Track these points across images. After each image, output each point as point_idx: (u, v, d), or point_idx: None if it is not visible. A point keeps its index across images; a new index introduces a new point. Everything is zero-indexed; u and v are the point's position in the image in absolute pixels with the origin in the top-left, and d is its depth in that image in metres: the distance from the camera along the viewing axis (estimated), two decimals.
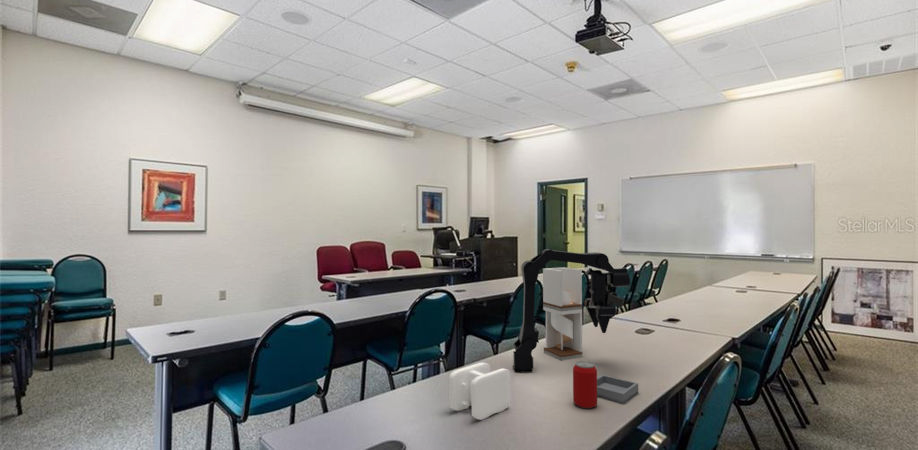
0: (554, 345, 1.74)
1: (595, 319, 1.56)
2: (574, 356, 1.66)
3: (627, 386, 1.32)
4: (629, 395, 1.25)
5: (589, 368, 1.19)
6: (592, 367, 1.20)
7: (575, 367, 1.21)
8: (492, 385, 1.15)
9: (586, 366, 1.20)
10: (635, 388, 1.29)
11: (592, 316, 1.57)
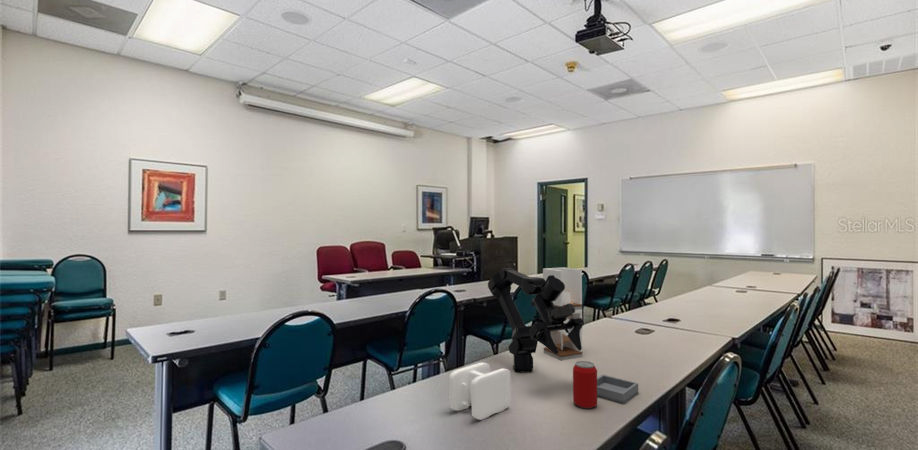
0: None
1: (576, 342, 1.33)
2: (574, 356, 1.66)
3: (627, 386, 1.32)
4: (629, 395, 1.25)
5: (589, 368, 1.19)
6: (592, 367, 1.20)
7: (575, 367, 1.21)
8: (492, 385, 1.15)
9: (586, 366, 1.20)
10: (635, 388, 1.29)
11: (573, 340, 1.34)
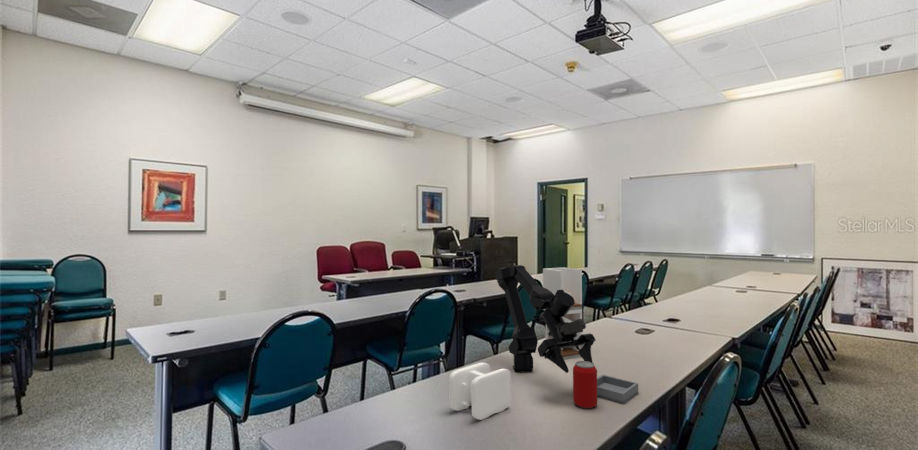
0: None
1: (587, 359, 1.28)
2: (574, 356, 1.66)
3: (627, 386, 1.32)
4: (629, 395, 1.25)
5: (589, 368, 1.19)
6: (592, 367, 1.20)
7: (575, 367, 1.21)
8: (492, 385, 1.15)
9: (586, 366, 1.20)
10: (635, 388, 1.29)
11: (584, 358, 1.29)
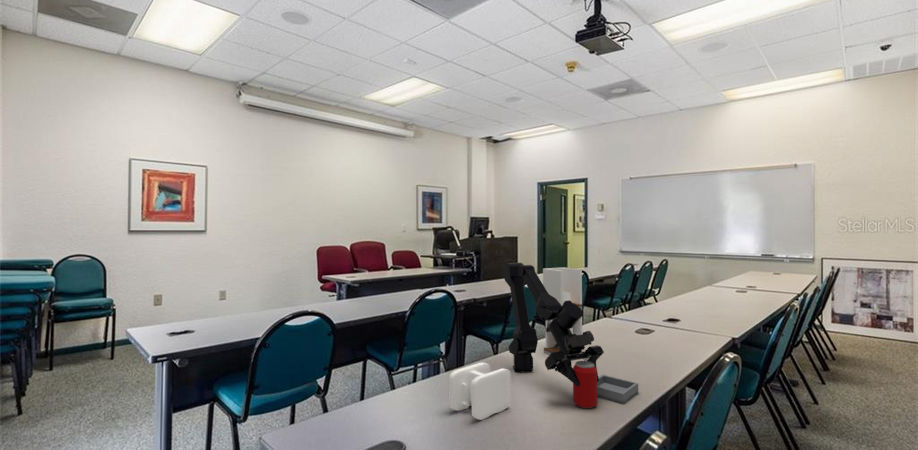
0: (554, 345, 1.74)
1: None
2: None
3: (627, 386, 1.32)
4: (629, 395, 1.25)
5: (589, 368, 1.19)
6: (592, 367, 1.20)
7: (575, 367, 1.21)
8: (492, 385, 1.15)
9: (586, 366, 1.20)
10: (635, 388, 1.29)
11: None
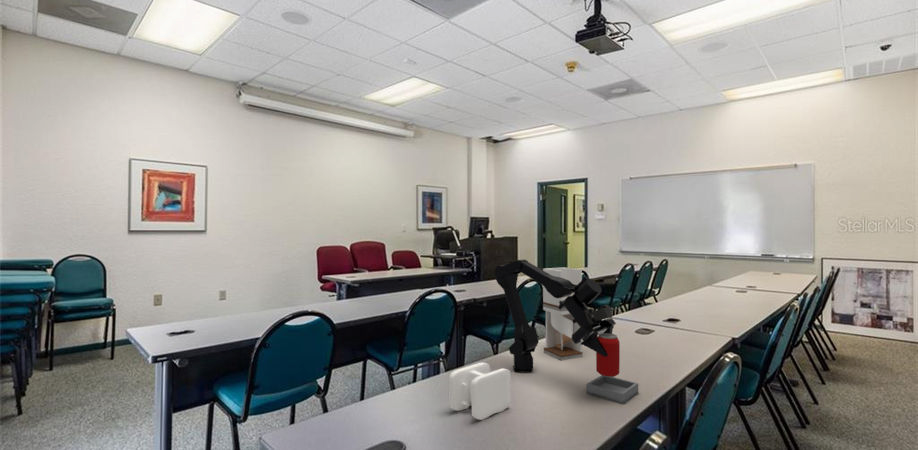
0: (554, 345, 1.74)
1: None
2: (574, 356, 1.66)
3: (627, 386, 1.32)
4: (629, 395, 1.25)
5: (615, 338, 1.26)
6: (616, 337, 1.27)
7: (601, 339, 1.27)
8: (492, 385, 1.15)
9: (611, 337, 1.27)
10: (635, 388, 1.29)
11: None
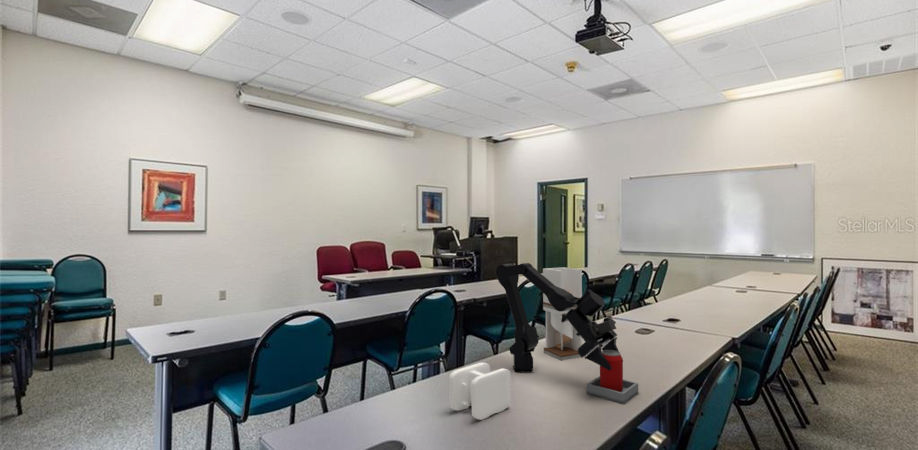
0: (554, 345, 1.74)
1: None
2: (574, 356, 1.66)
3: (627, 386, 1.32)
4: (629, 395, 1.25)
5: (618, 355, 1.28)
6: None
7: (605, 356, 1.29)
8: (492, 385, 1.15)
9: (615, 354, 1.29)
10: (635, 388, 1.29)
11: None
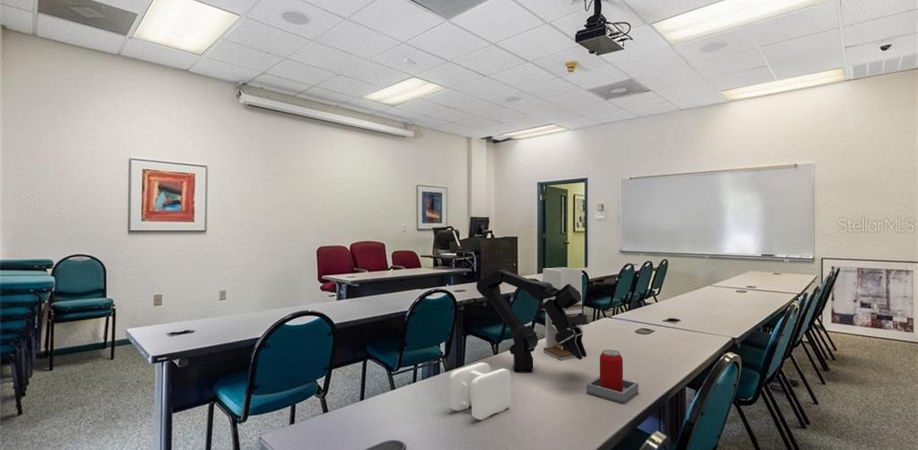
0: (554, 345, 1.74)
1: (580, 349, 1.42)
2: (574, 356, 1.66)
3: (627, 386, 1.32)
4: (629, 395, 1.25)
5: (618, 356, 1.28)
6: None
7: (605, 356, 1.29)
8: (492, 385, 1.15)
9: (615, 354, 1.29)
10: (635, 388, 1.29)
11: None
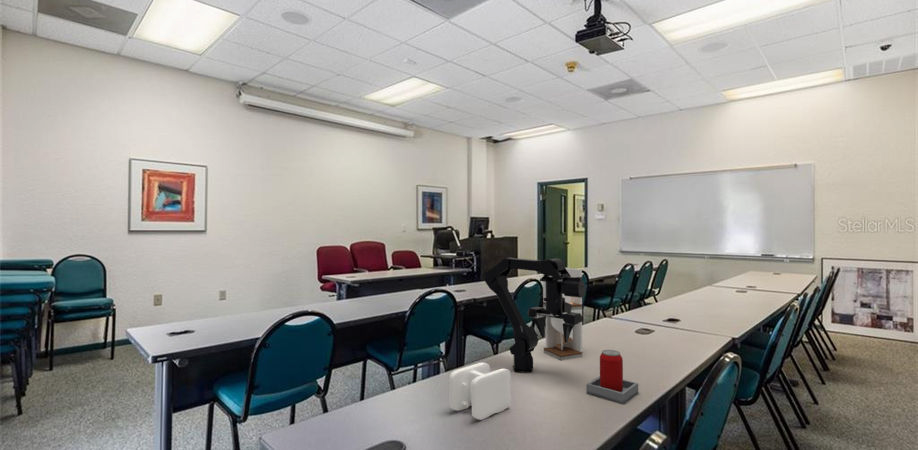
0: (554, 345, 1.74)
1: (542, 329, 1.48)
2: (574, 356, 1.66)
3: (627, 386, 1.32)
4: (629, 395, 1.25)
5: (618, 355, 1.28)
6: None
7: (604, 356, 1.29)
8: (492, 385, 1.15)
9: (615, 354, 1.29)
10: (635, 388, 1.29)
11: (540, 327, 1.47)
